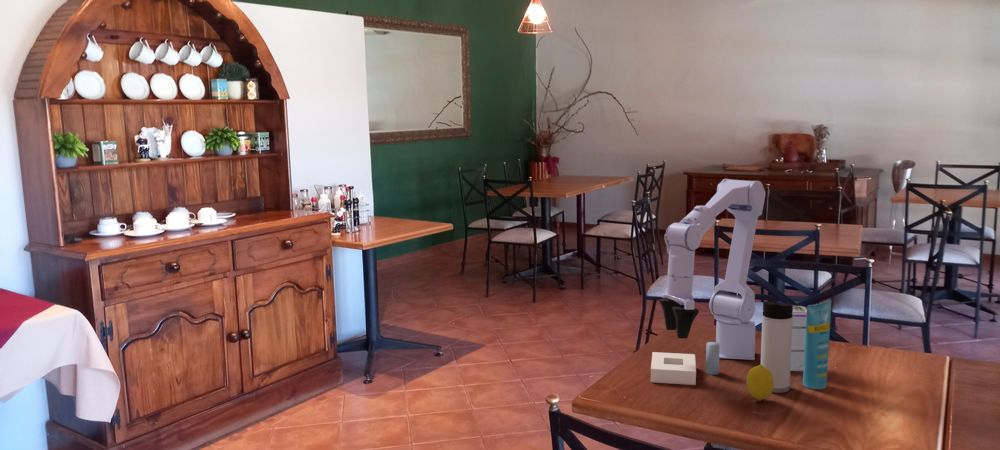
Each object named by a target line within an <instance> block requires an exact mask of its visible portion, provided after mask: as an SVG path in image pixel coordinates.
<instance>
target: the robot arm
mask: <svg viewBox="0 0 1000 450" xmlns="http://www.w3.org/2000/svg"><path fill="white" fill-rule="evenodd" d="M765 198H766V189H765V188H764V185H763V183H762V182H761V181H760V180H744V179H742V180H740V179H729V178H724V179H722V180H721V181H720V182H719V183H718V184H717V188H716V193H715V194H714V195H713V196H712V197H711V198H710V200H709V201H707V203H706V204H705V205H696V206H694V208H693V209H692V210H691V211H690V212H689V213H688V214H687V215H686V216H685V217H683V218H682V219H681V220H680V221H678V222H673V223H672V224H669V225H668V227H667V228H666V230H665V234H664V243H665V245H666V253H667V254H668V263H667V279H666V280H667V281H666V288H664V293H663V292H662V293H661V294H660V296H661V298H659V301H658V302H659V304H660V306H661V309H662V312H663V315H664V316H663V317H664V324H665V328H666V331H676V336H677V338H678V339H684V340H685V339H688V337H689V335H690V331H691V328H692V325H693V323H694V321H695V319H696V318H697V316H698V314H699V312H700V310H699V309H698V308H695V303H696V302H695V300H694V296H693V287H694V271H695V269H694V268H695V256H696V255H695V253H696V249H698V248H700V245H701V242H702V239H703V238H704V236H705V234H706V232H707V231H709V230H710V229H711V228H712V227H713V226H714V225H715V223H716V220H717V218H716V217H717V216H718V215H719V214H721V213H722V212H724V211H725V210H727V212H729V213H731V214H732V215H733V216H734V218H735V220H734V226H733V231H732V239H731V243H730V249H729V254H728V261H727V265H726V271H725V276H724V277H725V278H724V280H722V281H720V282H719V283H717V284H716V285H715V286H714V289H713V293H712V295H711V297H710V299H709V305H708V306H709V311H710V313H711V314H712V315H713V319H714V320H716V322H715V323H716V327H715V328H716V331H715V334H716V335H715V342H717V343H719V344H720V352H719V359H727V360H729V359H730V360H745V361H747V360H749V361H754V360H755V357H756V356H755V351H756V323H755V321H753V320H752V319H753V316H754V315H755V312H756V303H755V298H756V293H755V292H754V290H753V289H752V288H751V287H750V286H749V285H748V283H747V279H748V275H749V268H750V261H751V258H752V251H753V246H754V240H755V234H756V230H757V224H758V219H759V217H760V216H762V215H763V210H764V205H765ZM732 293H733V294H732ZM734 293H736V294H734ZM738 294H739V295H738Z"/></svg>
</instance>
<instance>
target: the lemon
mask: <svg viewBox="0 0 1000 450" xmlns="http://www.w3.org/2000/svg"><path fill="white" fill-rule="evenodd" d="M745 379H746V380H745V381H746V382H745V385H746V389H747V392H748V393H749V395H750V396H751V397H753V398H754V399H756V400H757V401H758V402H761V401H762V400H763V399H764V400H765V399H766V398H769V397H770V395H771V394H773V392H772V391H773V387H774V381H773V376H772V373H771V372H770V371H769V370H768V369H767V368H766V367H763V366H762V365H761V364H758V365H756V366H753V367H752V368H751V369H750V370H748V373H747V375H746V378H745Z"/></svg>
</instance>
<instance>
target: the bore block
mask: <svg viewBox="0 0 1000 450" xmlns="http://www.w3.org/2000/svg"><path fill="white" fill-rule="evenodd" d="M651 354H652V355H651V362H650V363H651V364H650V383H655V384H656V383H659V384H672V385H673V384H675V385H687V386H688V385H691V386H696V385H697V383H696V381H697V380H696V378H697V365H696V355H695V353H694V354H693V353H677V352H675V353H673V352H656V351H652V353H651Z"/></svg>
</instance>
